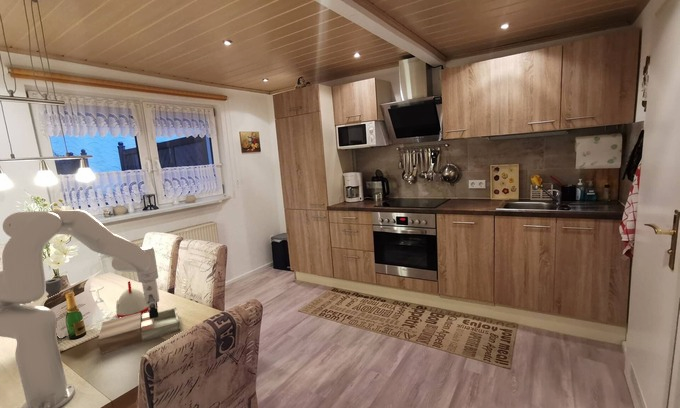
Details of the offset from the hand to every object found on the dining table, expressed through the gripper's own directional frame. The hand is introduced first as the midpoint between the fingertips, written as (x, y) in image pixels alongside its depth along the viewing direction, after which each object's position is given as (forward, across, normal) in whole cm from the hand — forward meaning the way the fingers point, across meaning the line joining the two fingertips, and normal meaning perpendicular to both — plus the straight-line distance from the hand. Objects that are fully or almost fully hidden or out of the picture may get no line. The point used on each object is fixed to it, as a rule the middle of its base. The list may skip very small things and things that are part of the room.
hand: (154, 313), depth 141 cm
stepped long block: (+7, 0, +5) cm, 9 cm away
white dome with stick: (+8, +27, +9) cm, 30 cm away
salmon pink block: (+4, -4, +5) cm, 8 cm away
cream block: (+4, +4, +5) cm, 7 cm away
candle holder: (+7, +20, +35) cm, 41 cm away
